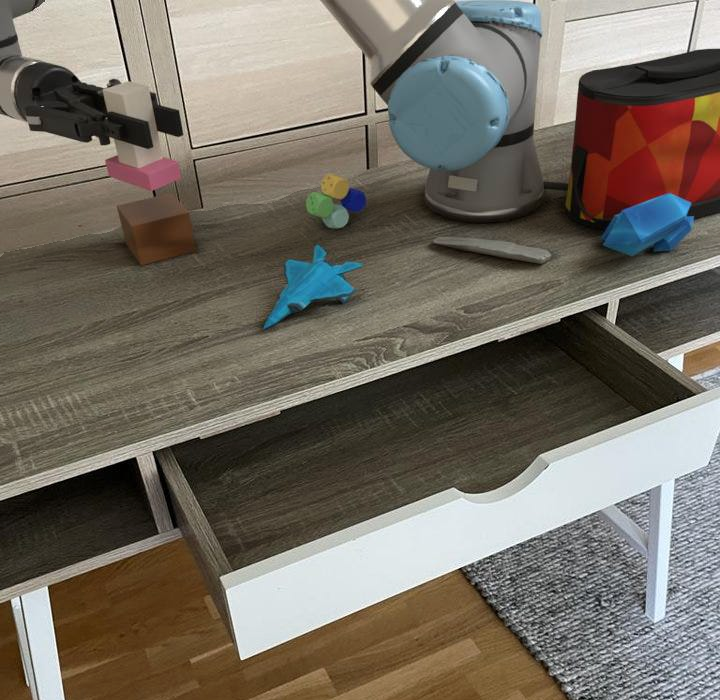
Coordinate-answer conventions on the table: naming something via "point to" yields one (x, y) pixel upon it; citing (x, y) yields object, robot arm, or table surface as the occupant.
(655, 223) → the crystal
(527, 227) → the table surface
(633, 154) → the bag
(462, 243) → the stone tool
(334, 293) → the toy airplane
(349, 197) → the dice
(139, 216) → the wood block
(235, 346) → the table surface
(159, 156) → the block on pink pedestal
